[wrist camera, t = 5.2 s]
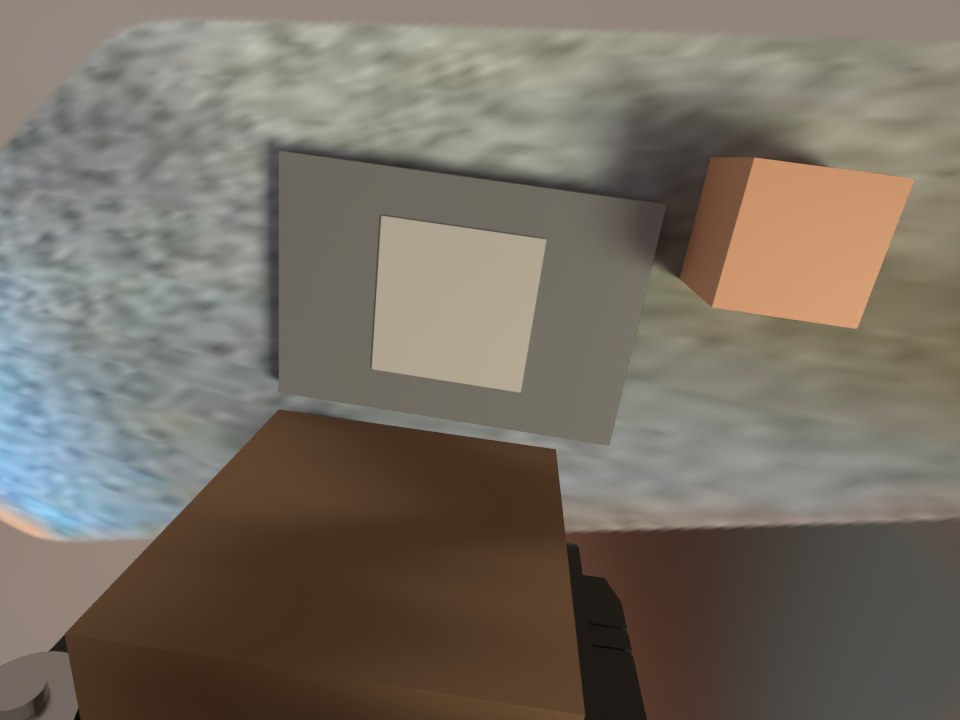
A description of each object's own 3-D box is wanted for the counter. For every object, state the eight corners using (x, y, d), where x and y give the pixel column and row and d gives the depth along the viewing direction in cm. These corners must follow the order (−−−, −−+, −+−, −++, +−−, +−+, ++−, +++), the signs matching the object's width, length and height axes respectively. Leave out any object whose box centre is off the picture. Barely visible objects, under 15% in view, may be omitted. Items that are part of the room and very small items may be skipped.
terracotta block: (836, 174, 22) (914, 178, 18) (795, 295, 24) (857, 328, 19) (710, 157, 23) (754, 157, 18) (678, 278, 24) (711, 307, 20)
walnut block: (555, 449, 10) (585, 715, 5) (514, 658, 12) (510, 996, 7) (278, 409, 10) (64, 634, 5) (280, 621, 12) (119, 931, 7)
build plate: (661, 203, 23) (667, 205, 22) (607, 435, 27) (609, 446, 26) (288, 151, 24) (277, 150, 23) (287, 384, 28) (277, 393, 27)
